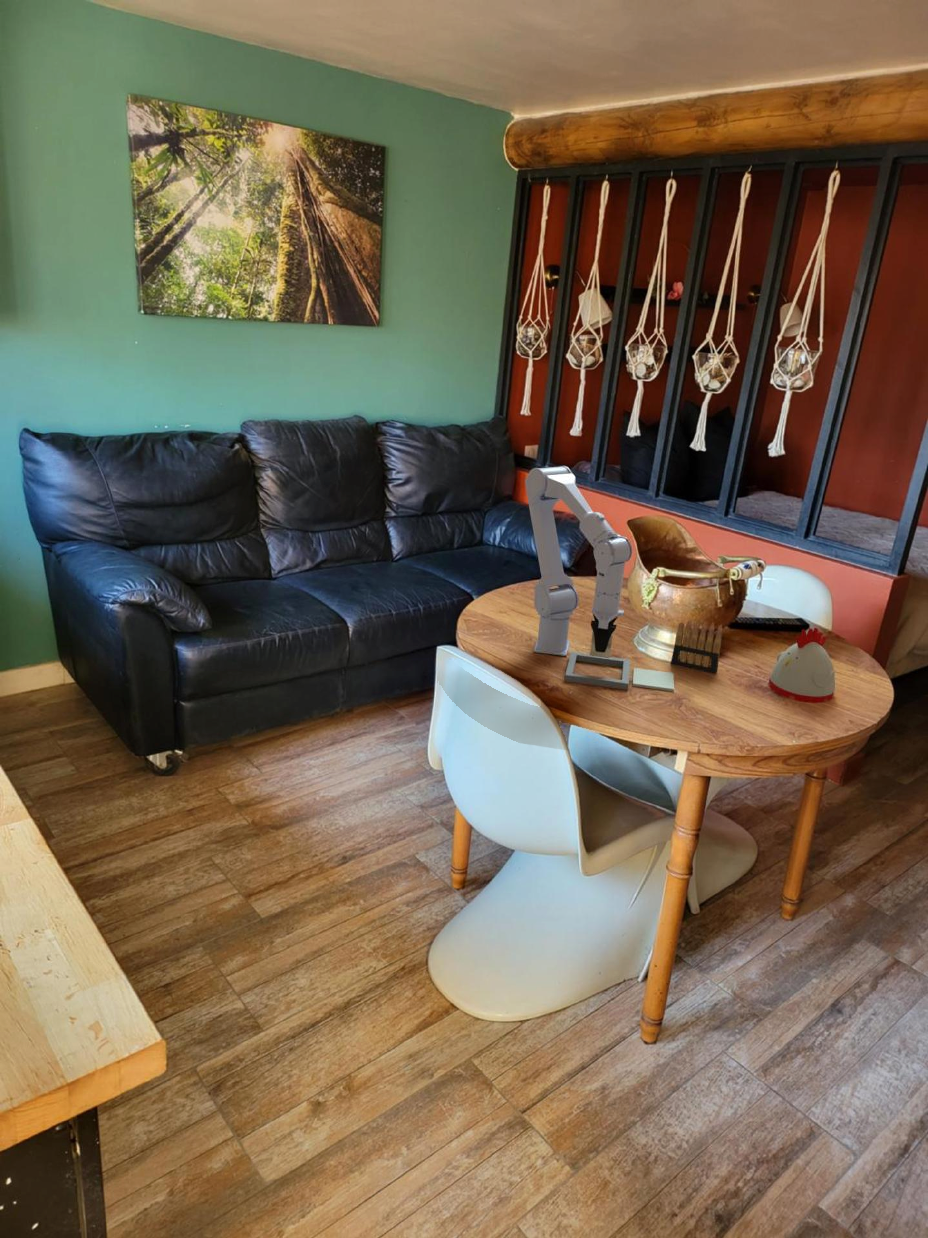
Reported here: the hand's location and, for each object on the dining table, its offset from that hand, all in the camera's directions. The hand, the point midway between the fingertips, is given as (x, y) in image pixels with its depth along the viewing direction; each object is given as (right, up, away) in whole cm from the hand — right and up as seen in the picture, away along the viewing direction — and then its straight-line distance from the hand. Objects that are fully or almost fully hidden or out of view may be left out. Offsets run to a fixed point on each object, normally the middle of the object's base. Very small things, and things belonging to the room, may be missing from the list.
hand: (600, 647), depth 189 cm
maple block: (0, -1, +1) cm, 1 cm away
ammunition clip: (+23, -5, +8) cm, 26 cm away
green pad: (+12, -8, 0) cm, 14 cm away
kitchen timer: (+45, -10, 0) cm, 47 cm away
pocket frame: (0, -6, +2) cm, 6 cm away
